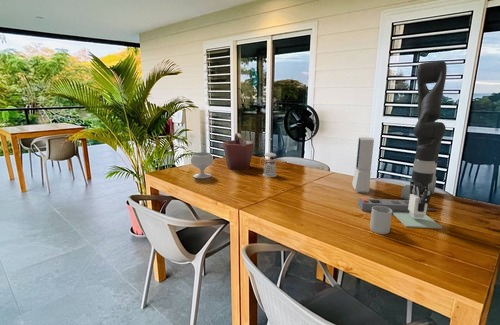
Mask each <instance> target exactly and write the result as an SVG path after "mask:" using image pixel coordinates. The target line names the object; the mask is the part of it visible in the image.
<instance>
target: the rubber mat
mask: <svg viewBox="0 0 500 325" xmlns="http://www.w3.org/2000/svg"><path fill="white" fill-rule="evenodd" d="M392 216H394V217H395V218H397V220H398V221H399V222H401V224H402V225H403V226H404V227H405V228H416V229H417V228H420V229H443V227H442V226H441V225H440V224H439V223H437V222H436V221H435V220H434V219H433V218H431V217H430V216H428V215H427V213H426V214H424V217H423V218H414V217H412V216H411V215H410V214H409V213H404V212H392Z"/></svg>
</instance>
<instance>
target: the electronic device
mask: <svg viewBox="0 0 500 325" xmlns="http://www.w3.org/2000/svg"><path fill="white" fill-rule="evenodd" d="M357 142H358V144H357V153H356V164H355V170H354V174H353V178H352V187H353V189H354V191H355V192H356V193H364V194H369V193H370V186H371V185H370V183H371V174H372V172H371V170H372V162H373V151H374V143H375V138H374V137H367V136H366V137H364V136H363V137H362V136H360V137H358V141H357Z"/></svg>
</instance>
